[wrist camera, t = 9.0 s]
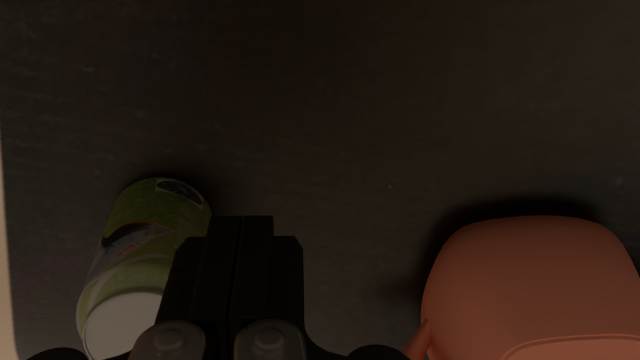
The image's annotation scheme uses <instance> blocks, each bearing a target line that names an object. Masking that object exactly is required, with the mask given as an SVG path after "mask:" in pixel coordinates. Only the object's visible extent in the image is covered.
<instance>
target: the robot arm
mask: <svg viewBox="0 0 640 360" xmlns="http://www.w3.org/2000/svg"><path fill="white" fill-rule="evenodd" d="M27 360H88V358H87V357H86V355H84V354H83V353H82V352H80V351H79V350H76V349H73V348H53V349H49V350H46V351H43V352H40V353H38V354H36V355H34V356H32V357H30V358H29V359H27ZM103 360H411V359H410V358H408V357H407V356H406V355H405V354H403V353H402V352H400V351H398V350H396V349H394V348H392V347H389V346H385V345H367V346H363V347H360V348H358V349H356V350H354V351H353V352H351V353H350V354H349V355H348V356H347V357H346V356H342V355H339V354H335V353H332V352H328V351H326V350H324V349H322V348H320V347H319V346H317V345H316V344H315V343H314V342H313V341H312V340H311V339H310V338H309V336H308V335H307V333H306V330H305V325H304V274H303V248H302V247H301V245H300V244H299V242H298V241H297V239H296V238H295V236H274V221H273V216H243V220H242V216H211V217H210V221H209V225H208V230H207V234H206V237H188V238H187V239H186V240H185V241H184V242H183V243H182V244H181V245H180V246H179V247H178V248H177V249H176V252H175V255H174V258H173V262H172V268H171V269H170V272H169V275H168V281H167V282H166V285H165V289H164V292H163V296H162V299H161V302H160V306H159V309H158V313H157V316H156V319H155V323H154V325H153V326H151V327H149V328H148V329H146V330H145V331H144V332H143V333H142V334H141V335H140V336H139V337H138V338H137V340H136V342H135V344H134V346H133V349H132V350H130V351H128V352H126V353H123V354H121V355H118V356H115V357H111V358H107V359H103Z"/></svg>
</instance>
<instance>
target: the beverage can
mask: <svg viewBox="0 0 640 360" xmlns="http://www.w3.org/2000/svg"><path fill="white" fill-rule="evenodd" d="M211 216H212V213H211V210H210V207H209V205H208V203H207V201H206V200H205V198H204V197H203V196H202V195H201V194H200V193H199V192H198V191H197V190H196V189H195V188H193V187H192V186H190V185H188V184H186V183H185V182H182V181H179V180H176V179H172V178H166V177H154V178H147V179H144V180H141V181H138V182H136V183H134V184H132V185H130V186H129V187H127V188H126V189H125V190H123V191H122V193H121V194H120V195H119V196H118V197H117V199H116V200H115V202H114V204H113V206H112V209H111V212H110V214H109V217H108V220H107V223H106V226H105V228H104V231H103V234H102V237H101V240H100V242H99V245H98V248H97V251H96V253H95V256H94V259H93V262H92V265H91V267H90V270H89V273H88V276H87V279H86V281H85V284H84V287H83V290H82V293H81V295H80V298H79V301H78V304H77V309H76V325H77V329H78V332H79V335H80V338H81V340H82V341H83V345H84V348H85V351H86V353H87V355H88V357H89V358H90V360H103V359H107V358H111V357H115V356H118V355H121V354H123V353H126V352H128V351H130V350H132V349H133V346H134V344H135V342H136V340H137V338H138V337H139V336H140V335H141V334H142V333H143V332H144V331H145V330H146V329H148V328H149V327H151V326H153V325H154V323H155V319H156V316H157V313H158V309H159V306H160V302H161V299H162V296H163V292H164V289H165V285H166V282H167V281H168V275H169V272H170V269H171V268H172V262H173V258H174V255H175V252H176V249H177V248H178V247H179V246H180V245H181V244H182V243H183V242H184V241H185V240H186V239H187V238H188V237H206V234H207V230H208V225H209V221H210V217H211Z"/></svg>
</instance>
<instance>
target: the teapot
mask: <svg viewBox="0 0 640 360" xmlns="http://www.w3.org/2000/svg"><path fill="white" fill-rule="evenodd" d="M426 352H427V354H428V357H429V360H640V277H639V275H638V273H637V271H636V269H635V267H634V264H633V262H632V260H631V258H630V256H629V255H628V253H627V251H626V249H625V248H624V246H623V244H622V243H621V242H620V240H619V239H618V238H617V237H616V236H615V235H614V234H613V233H612V232H611V231H610V230H609V229H607V228H605V227H604V226H602V225H600V224H599V223H595V222H592V221H588V220H585V219H581V218H575V217H566V216H553V215H533V216H515V217H505V218H498V219H490V220H485V221H480V222H475V223H472V224H469V225H466V226H464V227H462V228H460V229H459V230H457V231H456V232H455V233H454V234H453V235H451V236H450V238H449V239H448V240H447V241H446V243H445V244H444V245H443V246H442V248H441V250H440V252H439V254H438V256H437V258H436V260H435V262H434V265H433V267H432V269H431V272H430V274H429V277H428V280H427V283H426V286H425V289H424V294H423V298H422V306H421V326H420V327H419V328H418V330H417V331H416V332H415V334H414V335H413V336H412V338H411V339H410V340H409V342H408V343H407V344H406V346H405V347H404V349H403V350H402V353H403V354H405V355H406V356H407V357H408V358H410V359H411V360H423V359H424V356H425V354H426Z"/></svg>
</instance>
